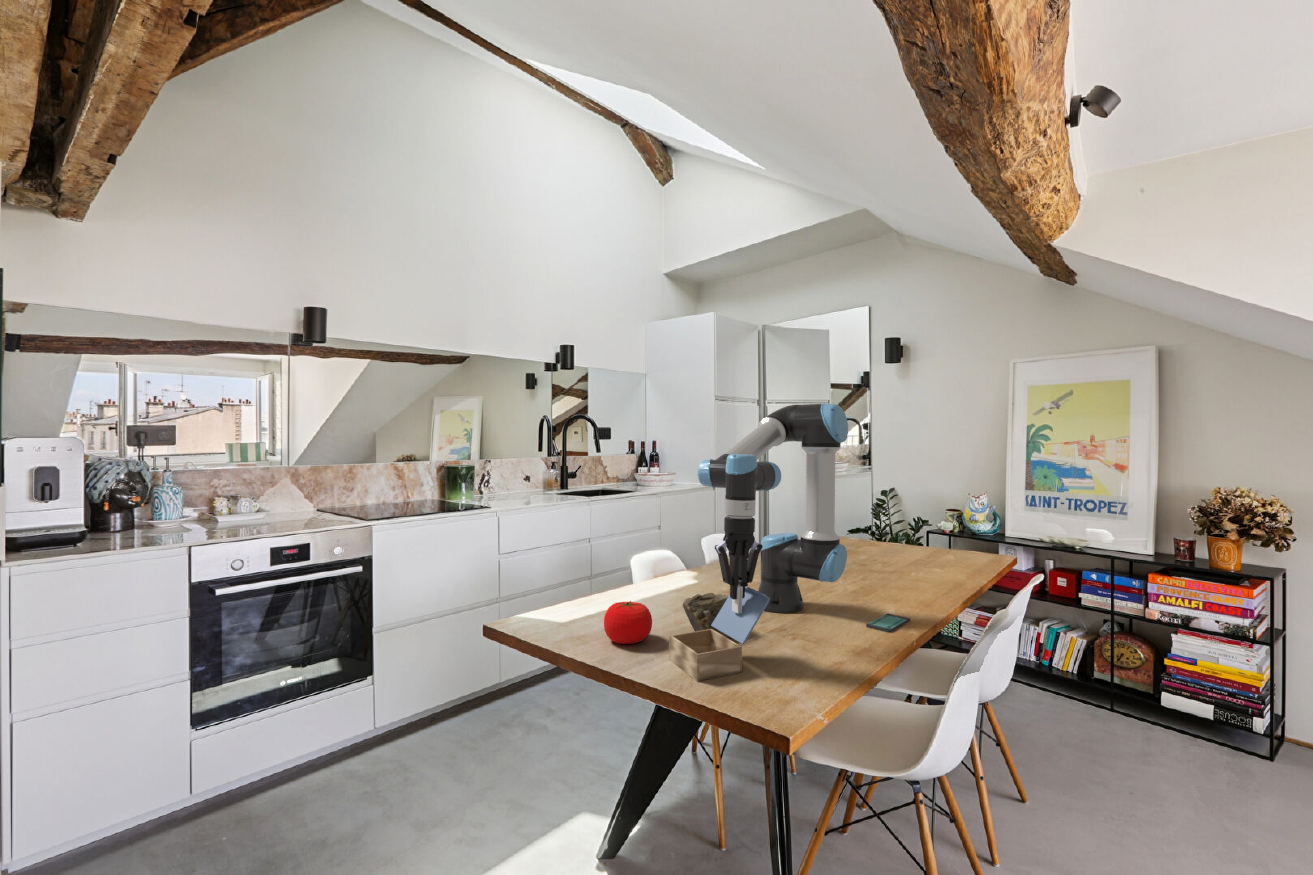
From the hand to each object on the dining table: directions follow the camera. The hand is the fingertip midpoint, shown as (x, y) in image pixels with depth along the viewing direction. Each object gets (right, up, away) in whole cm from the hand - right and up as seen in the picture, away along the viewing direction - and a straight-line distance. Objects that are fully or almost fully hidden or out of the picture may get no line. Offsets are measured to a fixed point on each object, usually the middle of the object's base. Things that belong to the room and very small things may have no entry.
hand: (736, 611), depth 148 cm
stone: (-4, -12, +17) cm, 21 cm away
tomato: (-28, -12, +14) cm, 33 cm away
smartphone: (+48, -12, +27) cm, 57 cm away
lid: (-1, +1, 0) cm, 1 cm away
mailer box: (-8, -12, -4) cm, 15 cm away
